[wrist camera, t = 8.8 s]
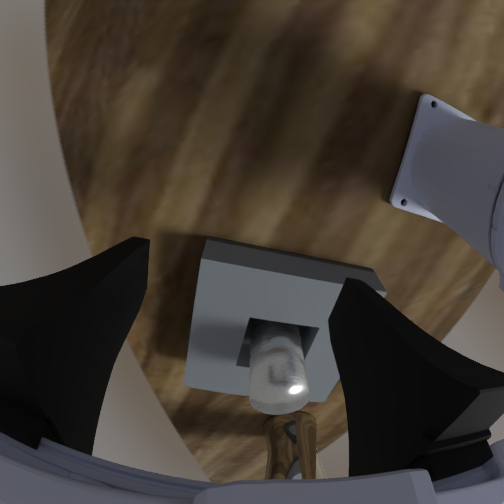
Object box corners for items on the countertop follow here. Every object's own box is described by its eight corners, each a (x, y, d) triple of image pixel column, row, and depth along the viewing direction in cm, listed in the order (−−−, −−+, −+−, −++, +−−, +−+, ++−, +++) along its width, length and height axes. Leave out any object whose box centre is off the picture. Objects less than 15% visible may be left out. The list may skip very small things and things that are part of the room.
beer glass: (280, 443, 34) (287, 551, 20) (246, 423, 31) (246, 548, 18) (330, 425, 32) (350, 539, 18) (301, 401, 29) (318, 538, 16)
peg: (291, 300, 22) (303, 375, 16) (302, 335, 24) (314, 407, 18) (243, 312, 23) (241, 388, 17) (258, 345, 24) (259, 418, 18)
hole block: (372, 269, 22) (387, 292, 19) (318, 377, 27) (323, 402, 25) (207, 236, 21) (201, 258, 18) (188, 359, 26) (183, 385, 23)
